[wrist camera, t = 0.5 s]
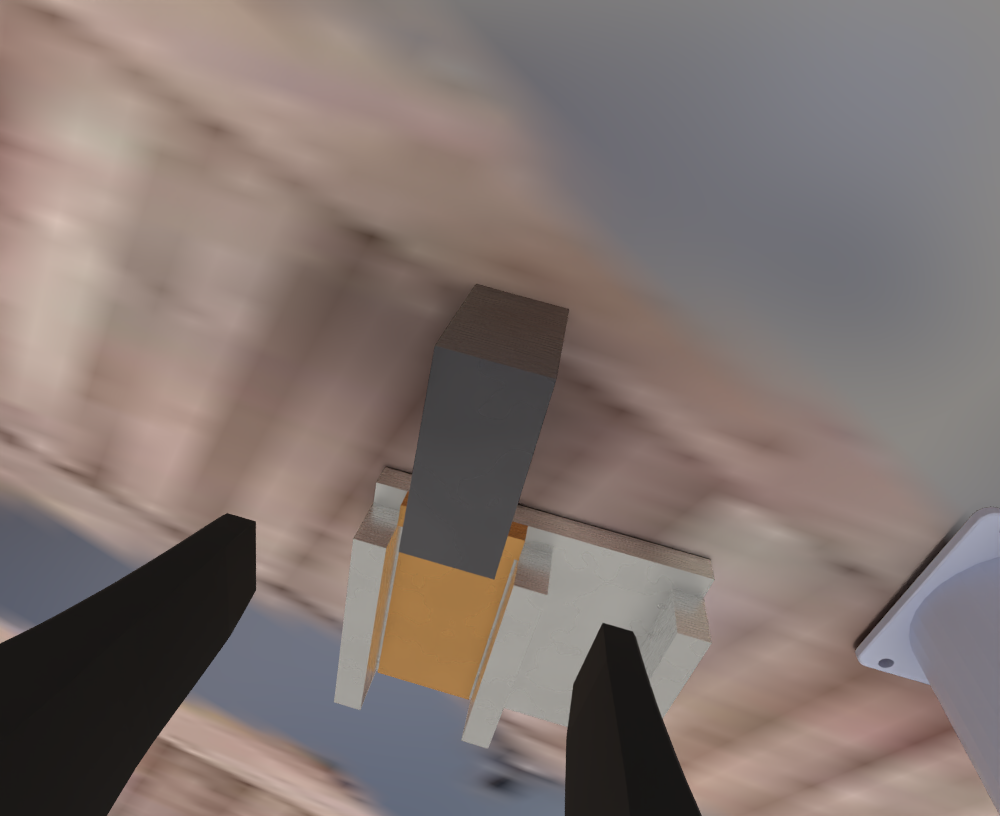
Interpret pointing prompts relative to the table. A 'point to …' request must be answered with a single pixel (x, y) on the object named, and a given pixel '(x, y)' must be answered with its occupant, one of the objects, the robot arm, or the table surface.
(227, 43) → the table surface
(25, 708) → the robot arm
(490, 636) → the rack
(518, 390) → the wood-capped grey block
